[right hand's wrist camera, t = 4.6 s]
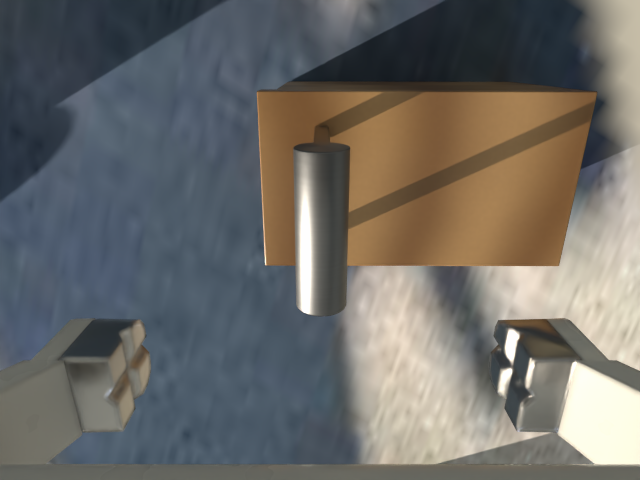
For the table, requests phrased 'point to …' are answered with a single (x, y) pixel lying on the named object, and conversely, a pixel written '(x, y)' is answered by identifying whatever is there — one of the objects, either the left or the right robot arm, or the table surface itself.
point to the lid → (415, 180)
